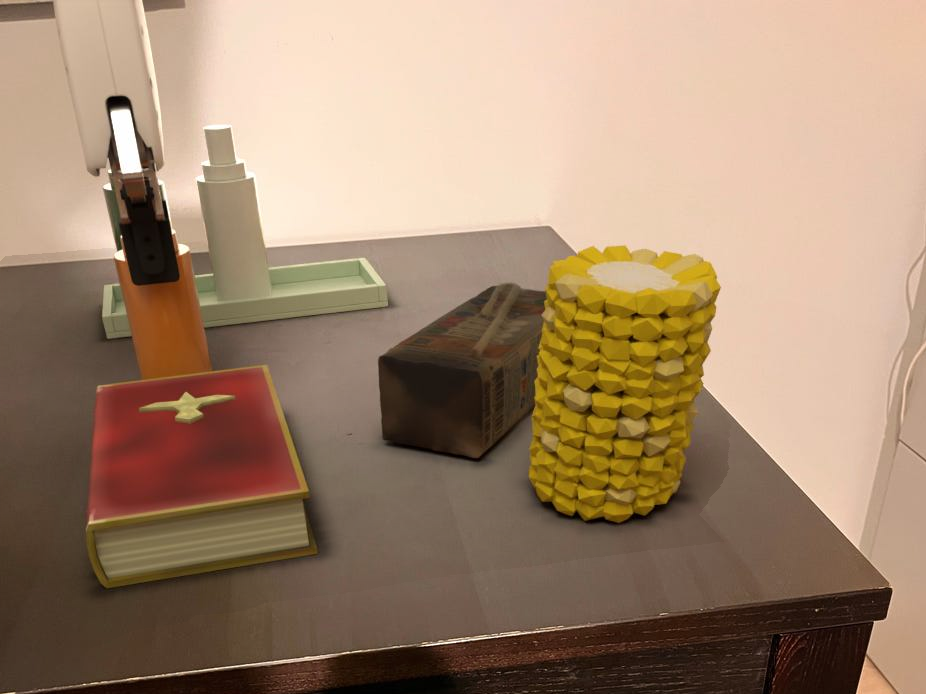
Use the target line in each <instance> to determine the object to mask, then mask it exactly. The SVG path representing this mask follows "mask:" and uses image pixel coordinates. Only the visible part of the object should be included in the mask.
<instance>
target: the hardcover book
mask: <svg viewBox="0 0 926 694" xmlns="http://www.w3.org/2000/svg"><path fill="white" fill-rule="evenodd" d="M94 397H95V398H94V409H93V410H94V412H93V426H92V437H91V438H92V441H91V452H90V453H91V454H90V469H89V481H88V497H87V508H86V509H87V510H86V522H85V523H86V524H85V540H86V541H85V542H86V548H87V553H88V558H89V561H90V563H91V566H92V570H93V572H94V574H95V576H96V577H97V579H98V581H99V583H100V584H101V585H102V586H103V587H104V588H106V589H112V588H118V587H125V586H129V585H130V586H131V585H135V584H142V583H146V582H154V581H159V580H166V579H171V578H178V577H184V576H191V575H196V574H203V573H209V572H214V571H220V570H226V569H233V568H239V567H245V566H250V565H251V566H252V565H257V564H263V563H268V562H269V563H270V562H275V561H280V560H288V559H292V558H293V559H295V558H299V557H300V558H301V557H306V556H312V555H318V554H319V553H318V547H317V543H316V539H315V538H314V537H315V536H314V534H313V531H312V530H313V529H312V527H311V525H310V521H309V517H308V514H307V511H306V508H305V504H304V501H303V499H310V498H311V496H310V495H311V494H310V490H309V488H308V483H307V481H306V478H305V475H304V472H303V469H302V466H301V462H300V460H299V457H298V453H297V451H296V448H295V445H294V442H293V438H292V435H291V432H290V429H289V427H288V424H287V421H286V418H285V414H284V411H283V408H282V405H281V403H280V400H279V396H278V393H277V391H276V388H275V385H274V381H273V378H272V375H271V372H270V369H269V366H268V364H261V365H251V366H243V367H236V368H228V369H220V370H212V371H211V372H203V373H195V374H187V375H179V376H171V377H163V378H155V379H146V380H142V379H138V380H132V381H123V382H115V383H107V384H97V387H96V390H95V396H94Z"/></svg>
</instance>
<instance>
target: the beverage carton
mask: <svg viewBox="0 0 926 694" xmlns="http://www.w3.org/2000/svg"><path fill="white" fill-rule="evenodd" d="M546 300H547V296H546V291H545V290H536V289H531V288H522V286H521V285H520V284H518V283H517V282H513V281H506V282H503V283H500V284H498V285H492V286H489V287H487V288H486V289H485V290H482V291H481V292H479V294H477V295H476V296H474V297H471V298H469V299H468V300H466V301H465V302H463V303H461V304H459V305H458V306H456V307H454V308H453V309H451V310H449V311H448V312H447V313H444V314H443V315H441V316H440V317H439V318H437V319H435V320H434V321H432V322H431V323H429V324H427V325H426V326H425V327H423V328H421V329H420V330H418V331H416V332H415V333H414V334H412V335H410V336H409V337H407V338H405V339H403V340H402V341H400V342H399V343H397V344H396V345H395V346H393V347H391V348H389V349H388V350H387V351H386V352H385V353H384V354H381V355H379V356H378V359H377V367H378V389H379V406H380V415H381V418H380V424H381V436H382V437H381V439H382V440H384V441H385V442H386V441H387V442H391V443H396V444H400V445H408V446H414V447H418V448H422V449H428V450H432V451H435V452H442V453H447V454H453V455H460V456H465V457H469V458H471V459H478V458H480V457H481V456H482V455H483V454H484V453H486V452H487V451H488V450H489V449H490V448H491V447H492V446H493V445H494V444H495V443H496V442H497V441H498V440H499V439H500V438H501V437H503V436H504V435H505V434H506V433H507V432H508V431H510V429H511V428H512V427H513V426H514V425H515V424H516V423H517V422H518V421H519V420H521V419H522V418H523V416H524V415H526V414H527V413H528V412H529V411H530V410H531V409H532V408H534V407H535V406H536V404H535V399H534V397H535V396H536V393H535V382H534V381H535V380H536V379H537V377H538V373H537V368H538V361H537V356H538V355H539V352H540V350H539V348H538V347H539V344H540V341H541V338H542V327H543V323H544V319H543V317H542V314H543V312H544V311H545V304H544V301H546Z"/></svg>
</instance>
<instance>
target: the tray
mask: <svg viewBox="0 0 926 694" xmlns="http://www.w3.org/2000/svg"><path fill="white" fill-rule="evenodd" d="M268 268H269V275H270V282H271V289H272V296H264V297H255V298H246V299H237V300H228V301H219V302H218V301H217V296H216V290H215V285H214V279H213V273H204V274H198V275H197V274H194V275H195V280H196V286H197V291H198V296H199V302H200V307H201V312H202V318H203V323H204V328H206V329H207V328H214V327H215V328H216V327H222V326H233V325H240V324H248V323H250V324H251V323H258V322H265V321H274V320H275V321H276V320H285V319H291V318H300V317H301V318H302V317H308V316H317V315H326V314H334V313H336V314H337V313H342V312H343V313H345V312H353V311H361V310H369V309H370V310H371V309H379V308H387V307H389V301H388V288H387V287H388V286H387V284H386V283H385V282H384V280H383V279H382V278H381V276H380V275H379V274H378V272H377V271H376V270H375V269H374V267H373V266H372V264H370V262H369V261H368V259H366V258H365V257H358V258H348V259H339V260H328V261H320V262H309V263H300V264H291V265H281V266H271V267H268ZM102 293H103V294H102V310H101V319H102V324H103V327H104V331H105V336H106V339H107V340H113V339H118V338H119V339H120V338H129V337H132V335H131V331H130V326H129V322H128V318H127V313H126V309H125V304H124V300H123V296H122V291H121V287H120V283H112V284H111V283H110V284H104V285H103V292H102Z"/></svg>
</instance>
